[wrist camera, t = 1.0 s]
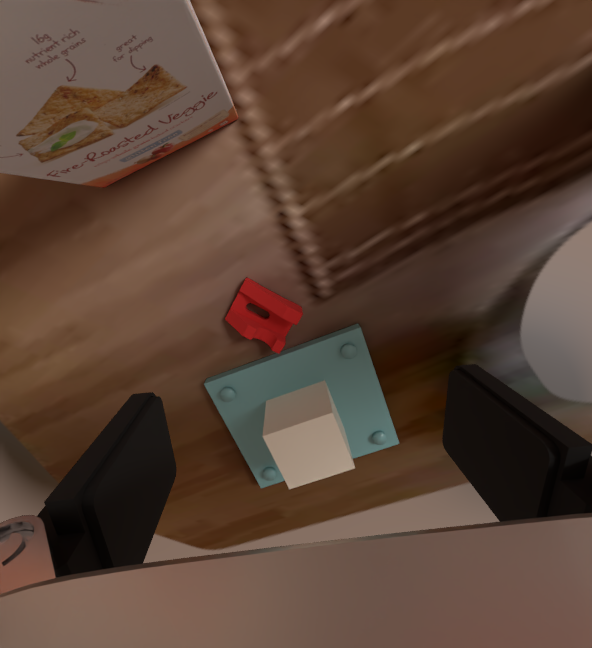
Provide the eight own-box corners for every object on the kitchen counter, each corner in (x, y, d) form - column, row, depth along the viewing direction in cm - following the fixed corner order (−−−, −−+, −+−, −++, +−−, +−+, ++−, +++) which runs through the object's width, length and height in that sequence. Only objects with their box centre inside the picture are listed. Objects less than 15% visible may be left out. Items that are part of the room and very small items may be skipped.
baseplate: (358, 323, 34) (361, 329, 32) (395, 437, 39) (401, 447, 37) (206, 378, 35) (202, 386, 34) (261, 480, 40) (260, 492, 39)
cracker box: (107, 193, 29) (-284, 144, 9) (66, 123, 27) (-542, -131, 7) (244, 123, 27) (134, -119, 8) (210, 45, 25) (-54, -554, 6)
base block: (324, 380, 34) (332, 412, 29) (344, 429, 37) (355, 468, 31) (266, 400, 35) (262, 436, 29) (288, 447, 37) (289, 489, 32)
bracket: (301, 305, 33) (302, 314, 30) (279, 342, 35) (279, 354, 32) (246, 276, 32) (243, 282, 29) (226, 315, 33) (221, 325, 30)
